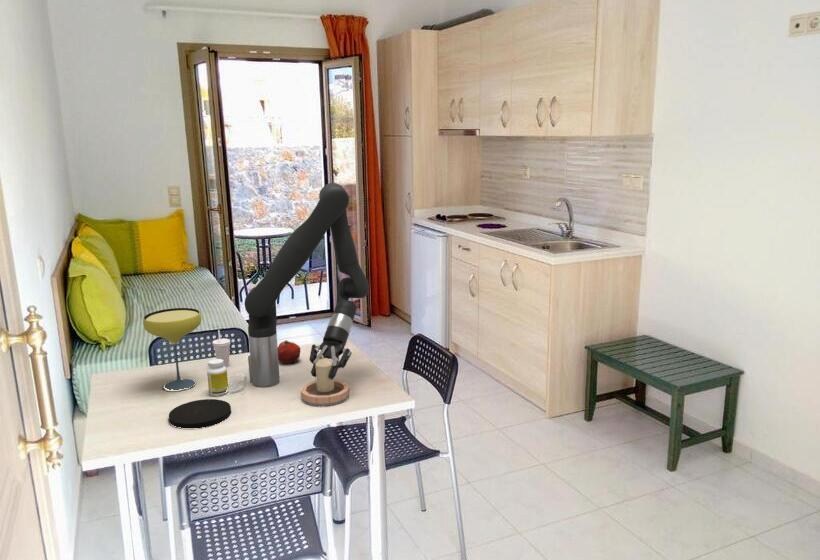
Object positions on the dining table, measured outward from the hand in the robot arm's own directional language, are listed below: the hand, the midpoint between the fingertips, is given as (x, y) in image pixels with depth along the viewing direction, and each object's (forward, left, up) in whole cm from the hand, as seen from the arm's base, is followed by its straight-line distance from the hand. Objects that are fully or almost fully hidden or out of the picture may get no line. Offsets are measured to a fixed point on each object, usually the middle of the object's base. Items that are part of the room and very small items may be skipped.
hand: (322, 377), depth 202 cm
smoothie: (-51, +10, -8) cm, 53 cm away
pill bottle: (-34, -10, -8) cm, 37 cm away
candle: (0, +2, -5) cm, 5 cm away
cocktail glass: (-51, -11, -8) cm, 53 cm away
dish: (0, +2, -7) cm, 8 cm away
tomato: (-32, +24, -8) cm, 41 cm away
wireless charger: (-26, -26, -8) cm, 38 cm away
